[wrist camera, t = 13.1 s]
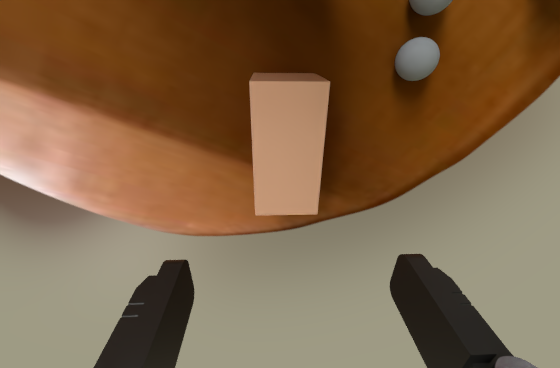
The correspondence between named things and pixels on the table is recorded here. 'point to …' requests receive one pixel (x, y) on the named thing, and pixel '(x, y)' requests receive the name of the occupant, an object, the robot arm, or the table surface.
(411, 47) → the slate ball
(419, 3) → the slate ball
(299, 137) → the peach rectangular block
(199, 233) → the table surface
